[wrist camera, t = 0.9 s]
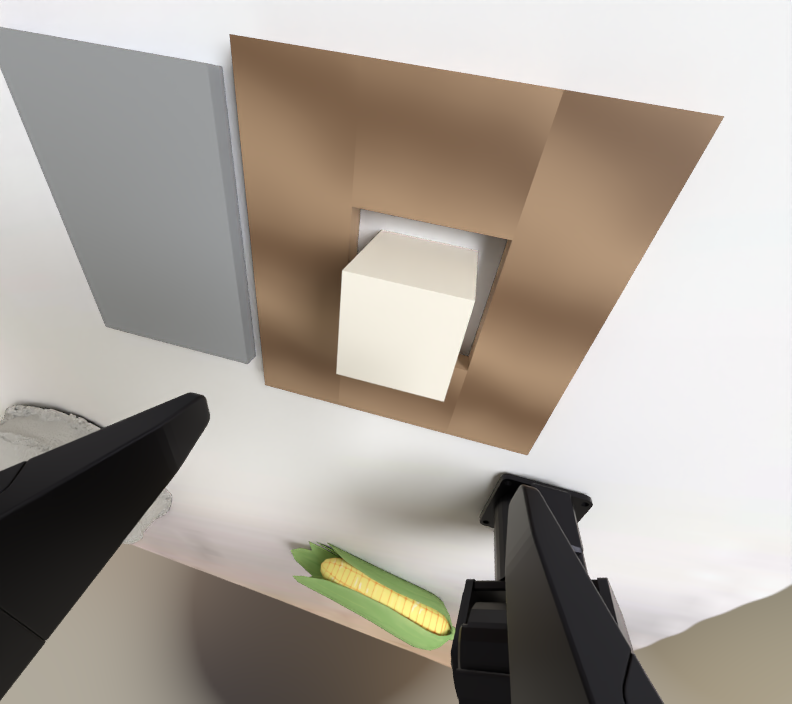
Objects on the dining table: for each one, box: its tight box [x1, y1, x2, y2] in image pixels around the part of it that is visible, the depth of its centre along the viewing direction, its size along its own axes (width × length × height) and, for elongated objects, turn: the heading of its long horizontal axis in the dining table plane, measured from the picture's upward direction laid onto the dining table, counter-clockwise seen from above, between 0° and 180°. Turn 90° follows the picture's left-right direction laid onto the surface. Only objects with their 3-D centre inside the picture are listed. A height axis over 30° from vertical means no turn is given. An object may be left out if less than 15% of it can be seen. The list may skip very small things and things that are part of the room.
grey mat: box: [0, 27, 256, 364], centre depth 20 cm, size 16×11×1 cm
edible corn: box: [291, 542, 455, 650], centre depth 37 cm, size 5×20×5 cm
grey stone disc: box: [0, 405, 172, 544], centre depth 37 cm, size 20×20×7 cm
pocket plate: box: [230, 34, 724, 455], centre depth 18 cm, size 18×18×2 cm
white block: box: [336, 230, 478, 402], centre depth 16 cm, size 5×5×6 cm
